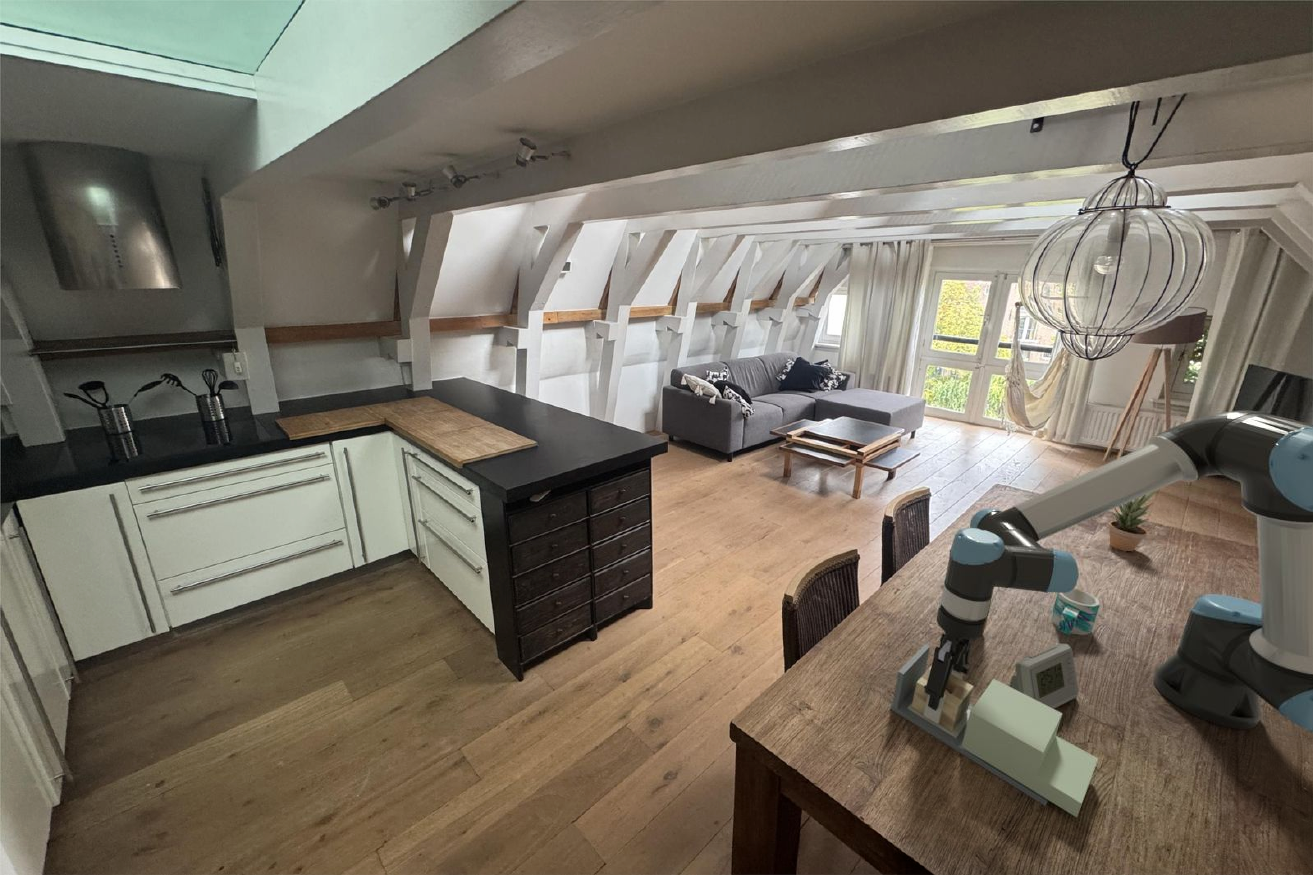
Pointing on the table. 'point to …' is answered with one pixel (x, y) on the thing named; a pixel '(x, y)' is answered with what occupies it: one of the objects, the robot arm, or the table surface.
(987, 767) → the housing base
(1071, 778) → the sage cover
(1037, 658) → the digital clock
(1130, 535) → the potted plant
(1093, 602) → the mug
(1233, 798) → the table surface
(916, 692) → the birch collar
